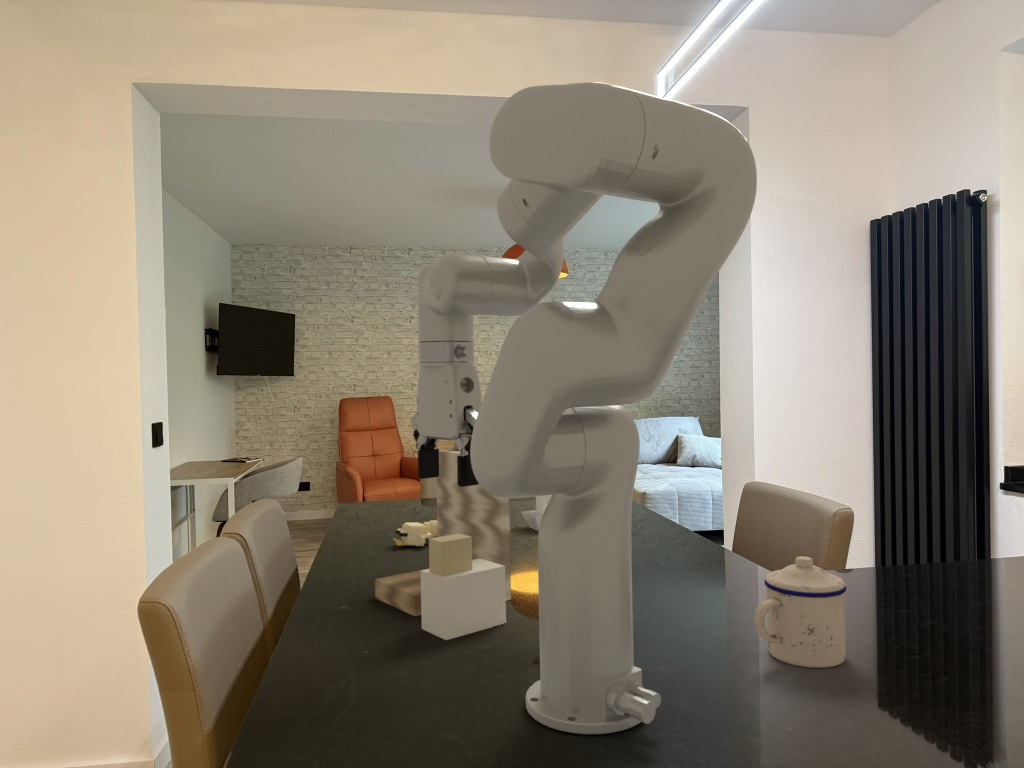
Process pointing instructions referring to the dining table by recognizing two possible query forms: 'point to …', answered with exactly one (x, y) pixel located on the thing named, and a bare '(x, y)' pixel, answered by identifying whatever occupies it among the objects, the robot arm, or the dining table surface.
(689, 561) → the dining table surface
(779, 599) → the teacup with lid
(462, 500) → the wooden l-shaped stand
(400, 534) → the cat figure
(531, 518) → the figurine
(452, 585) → the beige and white blocks
